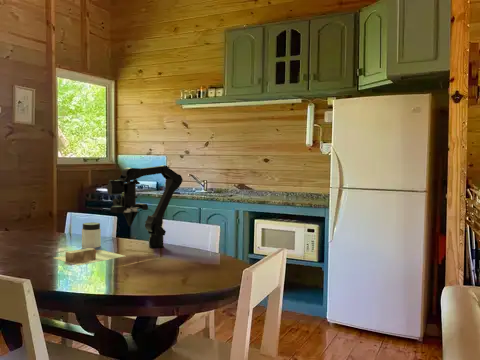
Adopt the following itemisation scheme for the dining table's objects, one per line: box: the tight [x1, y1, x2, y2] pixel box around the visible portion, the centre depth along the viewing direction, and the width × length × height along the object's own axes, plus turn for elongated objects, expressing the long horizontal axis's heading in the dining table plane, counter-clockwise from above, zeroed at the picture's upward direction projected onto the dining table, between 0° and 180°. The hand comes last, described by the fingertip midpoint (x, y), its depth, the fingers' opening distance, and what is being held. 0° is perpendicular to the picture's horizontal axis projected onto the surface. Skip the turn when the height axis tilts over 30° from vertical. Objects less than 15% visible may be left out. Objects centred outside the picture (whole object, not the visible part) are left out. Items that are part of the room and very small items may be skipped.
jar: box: [81, 221, 102, 249], centre depth 221 cm, size 9×8×12 cm
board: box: [53, 249, 125, 266], centre depth 199 cm, size 24×20×1 cm
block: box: [65, 248, 97, 264], centre depth 193 cm, size 4×4×12 cm
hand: (129, 225), depth 217 cm, fingers closed
